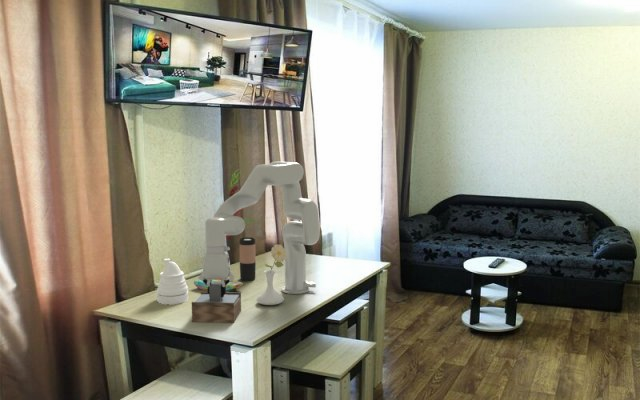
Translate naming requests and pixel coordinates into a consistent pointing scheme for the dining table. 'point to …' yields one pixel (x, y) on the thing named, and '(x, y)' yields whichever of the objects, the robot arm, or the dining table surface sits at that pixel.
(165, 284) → the honey pot
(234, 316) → the walnut box
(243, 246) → the travel mug
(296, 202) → the robot arm
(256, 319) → the dining table surface
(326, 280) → the dining table surface
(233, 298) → the cover plate
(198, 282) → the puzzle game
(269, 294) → the flower in vase
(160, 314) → the dining table surface
